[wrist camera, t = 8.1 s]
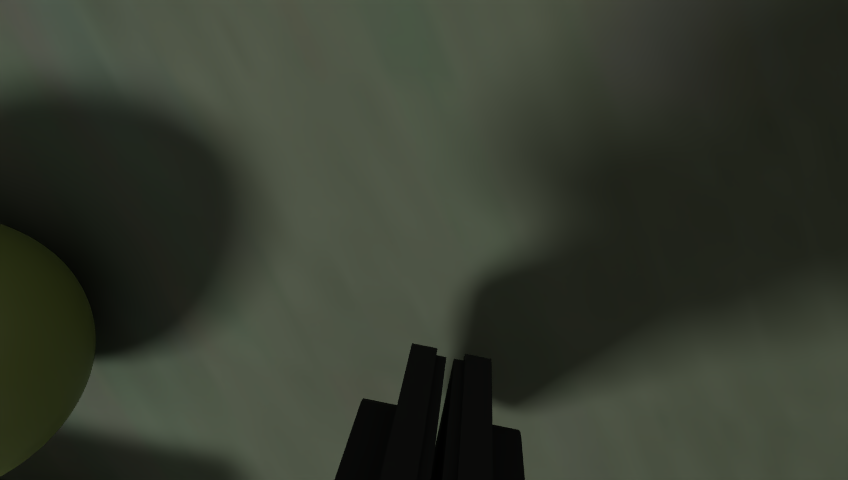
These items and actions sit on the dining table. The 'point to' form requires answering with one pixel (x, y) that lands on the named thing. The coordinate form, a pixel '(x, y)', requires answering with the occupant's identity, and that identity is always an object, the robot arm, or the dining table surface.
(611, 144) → the dining table surface
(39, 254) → the pear
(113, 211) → the dining table surface
